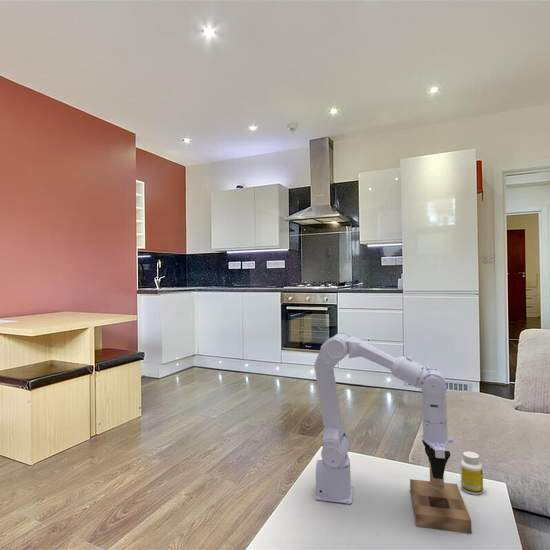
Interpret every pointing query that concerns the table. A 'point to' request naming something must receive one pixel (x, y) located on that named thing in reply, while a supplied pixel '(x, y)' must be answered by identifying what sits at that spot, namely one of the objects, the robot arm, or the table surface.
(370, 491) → the table surface
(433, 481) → the beech peg
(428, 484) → the walnut socket board
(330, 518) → the table surface
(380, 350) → the robot arm
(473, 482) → the supplement bottle
